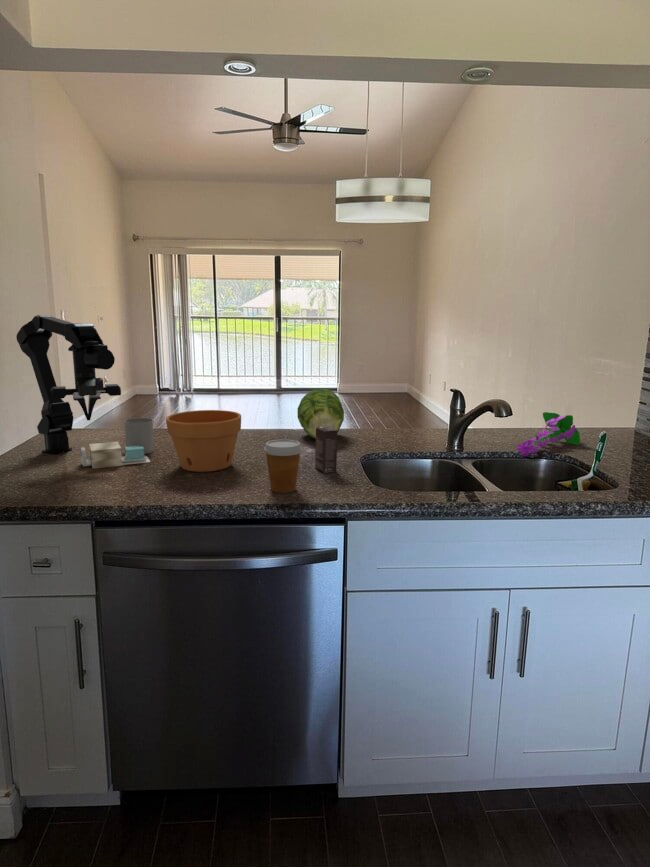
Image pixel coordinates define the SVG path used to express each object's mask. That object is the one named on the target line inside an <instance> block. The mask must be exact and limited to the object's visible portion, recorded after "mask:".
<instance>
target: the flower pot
mask: <svg viewBox="0 0 650 867" xmlns="http://www.w3.org/2000/svg"><path fill="white" fill-rule="evenodd" d="M165 423H166V429H167V433H168V434H169V435H170V437H171V439H172V442H173V446H174V449H175V453H176V456H177V458H178V461H179V464H180V467H181V468H182V469H183V470H185V471H188V472H189V471H190V472H200V473H201V472H202V473H206V472H215V471H220V470H224V469H227V468H229V467H230V466H232V463H233V458H234V453H235V450H236V448H235V447H236V443H237V439H238V433H239V432H240V431H241V430H242V414H241V413H239V412H237V411H232V410H231V411H230V410H225V409H224V410H222V409H202V410H200V409H199V410H189V411H181V412H177V413H173V414H169V415H167V416H166V418H165Z"/></svg>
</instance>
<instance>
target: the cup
mask: <svg viewBox="0 0 650 867" xmlns="http://www.w3.org/2000/svg"><path fill="white" fill-rule="evenodd" d="M153 422H154V420H153V418H150V417H133V418H132V417H131V418H128V419H125V421H124V429H125V431H124V432H125V447H126V446H138V445H142V446H143V448H144V455H146V454H151V453H153V452H155V441H154V424H153Z"/></svg>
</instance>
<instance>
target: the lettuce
mask: <svg viewBox="0 0 650 867" xmlns="http://www.w3.org/2000/svg"><path fill="white" fill-rule="evenodd" d="M298 404H299V405H298V407H297V420H298V422H299V424H300V426H301V427H302V429H303V431H304V432H305V433H306V434H308V435H309V437H311V438H312V439H314V440H316V427H330V428H333V429H335V430H338V432H337V434H338V433H339V432H340V429H341V427H342V425H343V422H344V419H345V410H344V408H343V404H342V401H341V399H340V397H339V396H338V395H337V394H336V393H335V392H334V391H332V390H330V389H327V388H315V389H312V390H311V391H308V392H307V393H306V394H304V396H303V397H302V398H301V400H300V402H299V403H298Z"/></svg>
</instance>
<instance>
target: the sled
mask: <svg viewBox="0 0 650 867" xmlns="http://www.w3.org/2000/svg"><path fill="white" fill-rule="evenodd" d="M123 448H124V456H123V455H122V463H123V462H133V461H143V460H146V457H145V456H146V454H144V448H143V446H142V445H138V446H126V445H125V446H124V447H123ZM80 453H81V464H82V467H90V466H91V467H92V459H90V458H89V459H87V451H86V448H85V447H80Z"/></svg>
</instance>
